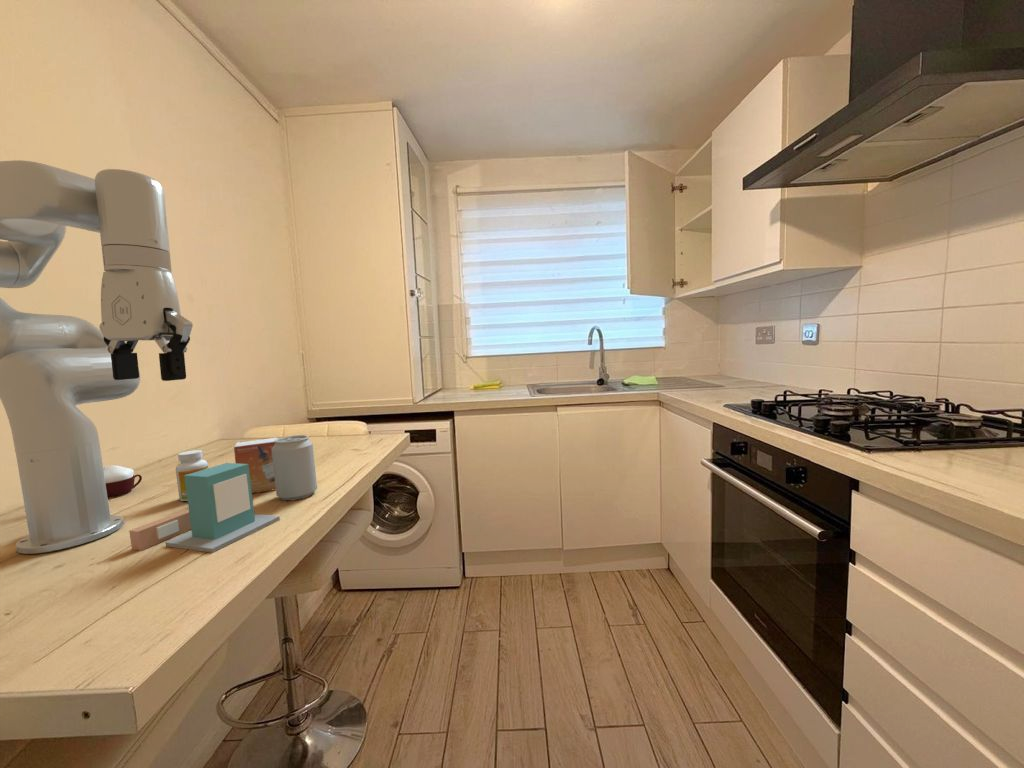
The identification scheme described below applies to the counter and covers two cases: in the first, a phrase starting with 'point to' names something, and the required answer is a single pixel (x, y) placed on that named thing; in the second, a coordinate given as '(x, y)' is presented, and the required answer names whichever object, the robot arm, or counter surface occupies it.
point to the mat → (214, 545)
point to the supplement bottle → (188, 469)
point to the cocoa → (119, 480)
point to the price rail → (160, 530)
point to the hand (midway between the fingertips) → (150, 379)
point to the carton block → (219, 500)
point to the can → (294, 467)
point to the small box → (257, 462)
